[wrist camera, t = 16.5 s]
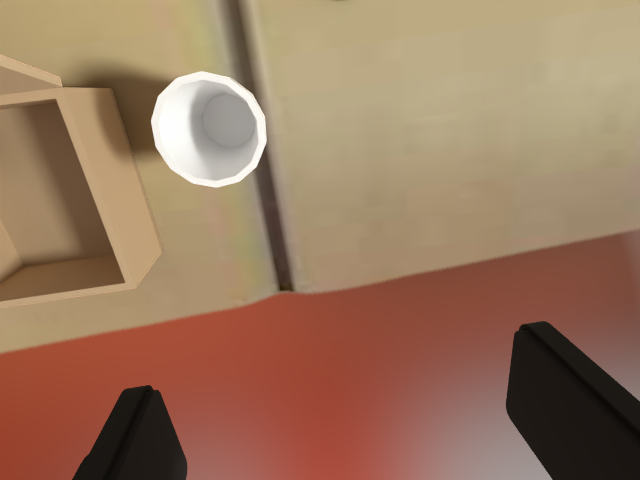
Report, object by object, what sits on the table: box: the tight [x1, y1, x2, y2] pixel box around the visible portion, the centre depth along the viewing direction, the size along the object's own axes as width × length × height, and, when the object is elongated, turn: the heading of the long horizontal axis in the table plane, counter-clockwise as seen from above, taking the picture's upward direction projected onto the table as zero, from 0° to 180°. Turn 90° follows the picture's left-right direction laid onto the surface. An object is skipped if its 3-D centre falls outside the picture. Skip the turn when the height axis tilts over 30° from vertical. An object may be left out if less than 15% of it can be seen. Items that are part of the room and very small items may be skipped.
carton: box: [0, 87, 164, 308], centre depth 39 cm, size 20×18×10 cm
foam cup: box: [151, 71, 267, 188], centre depth 36 cm, size 10×9×13 cm
